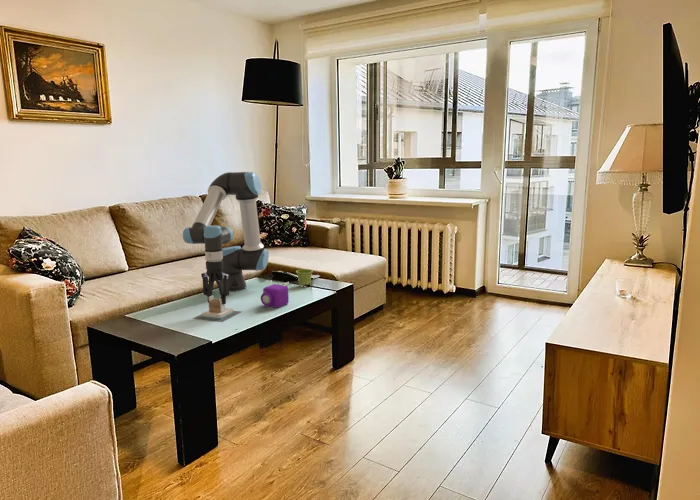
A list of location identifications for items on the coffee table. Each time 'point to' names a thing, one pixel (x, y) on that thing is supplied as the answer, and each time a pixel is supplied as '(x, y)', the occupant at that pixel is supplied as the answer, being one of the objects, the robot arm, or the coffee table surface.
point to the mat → (217, 319)
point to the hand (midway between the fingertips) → (217, 310)
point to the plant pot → (304, 276)
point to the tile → (218, 314)
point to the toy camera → (275, 296)
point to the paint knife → (311, 277)
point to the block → (214, 306)
